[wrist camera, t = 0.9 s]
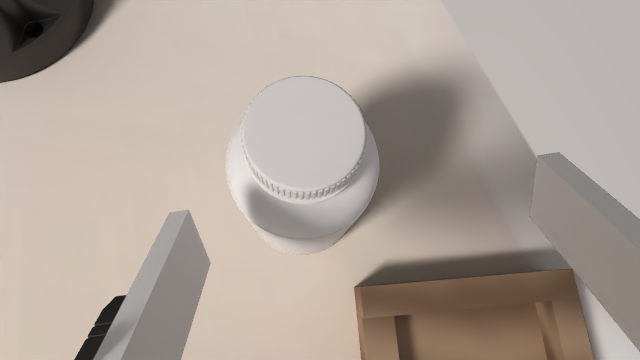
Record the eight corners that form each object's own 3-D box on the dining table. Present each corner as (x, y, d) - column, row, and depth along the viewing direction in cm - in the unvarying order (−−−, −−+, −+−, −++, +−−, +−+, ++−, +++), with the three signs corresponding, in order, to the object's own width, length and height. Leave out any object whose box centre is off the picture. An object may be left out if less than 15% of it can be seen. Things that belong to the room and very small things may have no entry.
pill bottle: (255, 151, 32) (223, 37, 17) (355, 161, 32) (405, 57, 18) (242, 251, 30) (193, 217, 15) (348, 260, 30) (400, 236, 16)
